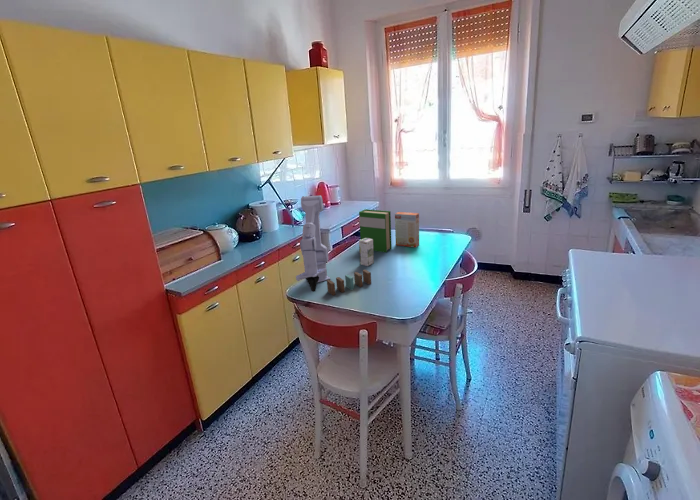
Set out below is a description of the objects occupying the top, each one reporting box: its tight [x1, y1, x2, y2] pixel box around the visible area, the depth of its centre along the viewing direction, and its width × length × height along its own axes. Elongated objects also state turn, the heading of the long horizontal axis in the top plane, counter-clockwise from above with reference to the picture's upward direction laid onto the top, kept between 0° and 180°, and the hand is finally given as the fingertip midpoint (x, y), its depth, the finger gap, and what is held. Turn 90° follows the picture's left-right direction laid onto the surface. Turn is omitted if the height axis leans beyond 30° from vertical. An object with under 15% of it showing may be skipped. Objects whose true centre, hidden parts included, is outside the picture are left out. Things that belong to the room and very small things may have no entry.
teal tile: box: [344, 274, 355, 291], centre depth 177 cm, size 2×5×6 cm, turn 30°
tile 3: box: [353, 271, 364, 288], centre depth 179 cm, size 2×5×6 cm, turn 29°
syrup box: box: [358, 238, 375, 267], centre depth 203 cm, size 6×6×14 cm
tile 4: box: [362, 269, 372, 285], centre depth 182 cm, size 2×5×6 cm, turn 29°
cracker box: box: [394, 211, 420, 248], centre depth 228 cm, size 14×6×21 cm, turn 58°
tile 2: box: [335, 277, 346, 294], centre depth 175 cm, size 2×5×6 cm, turn 29°
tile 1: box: [326, 279, 337, 297], centre depth 173 cm, size 2×5×6 cm, turn 29°
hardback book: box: [358, 208, 393, 253], centre depth 225 cm, size 18×7×24 cm, turn 58°
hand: (313, 290), depth 168 cm, fingers closed
